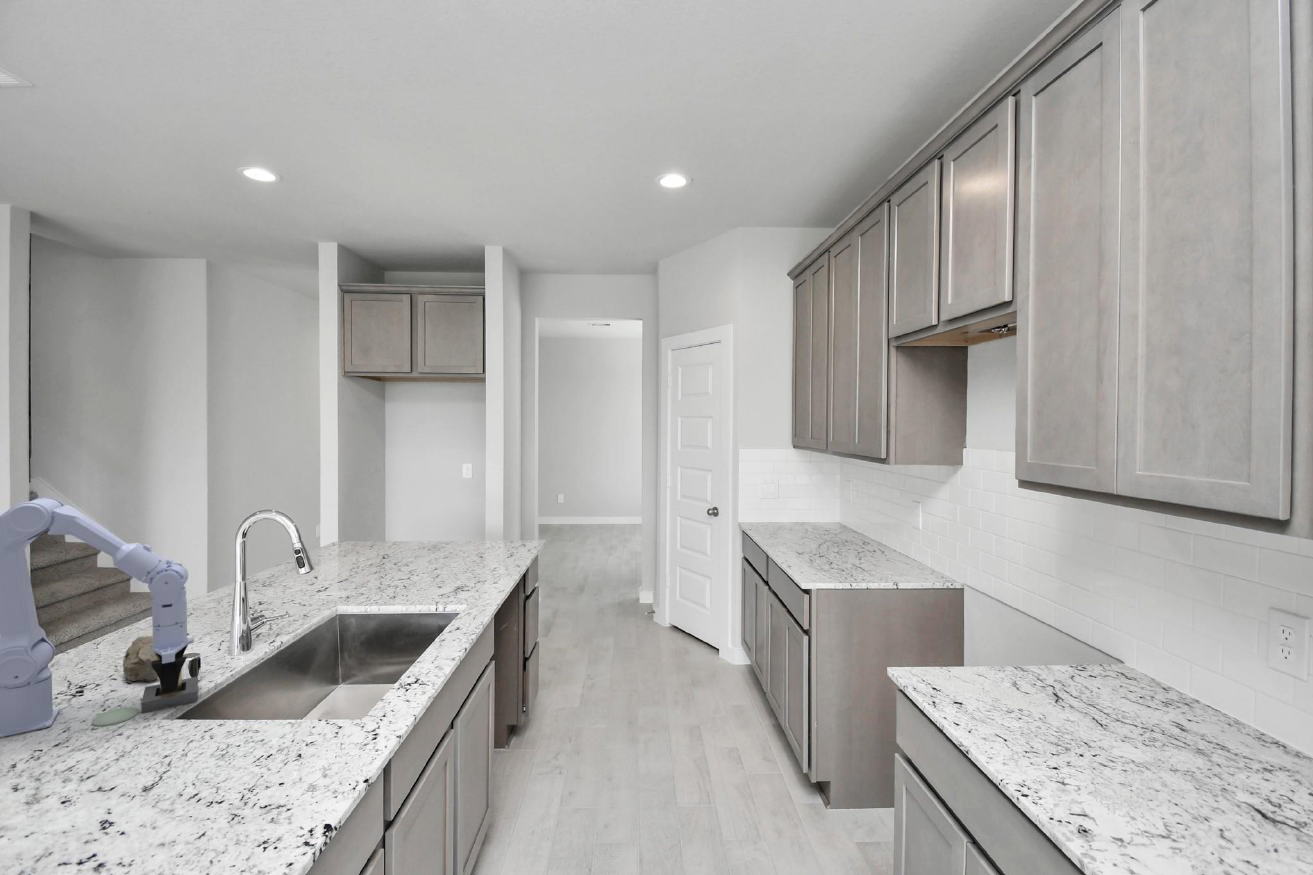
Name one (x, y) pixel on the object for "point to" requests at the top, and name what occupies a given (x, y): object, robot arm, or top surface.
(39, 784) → the top surface
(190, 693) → the housing
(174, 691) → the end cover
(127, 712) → the mat
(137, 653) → the rock
